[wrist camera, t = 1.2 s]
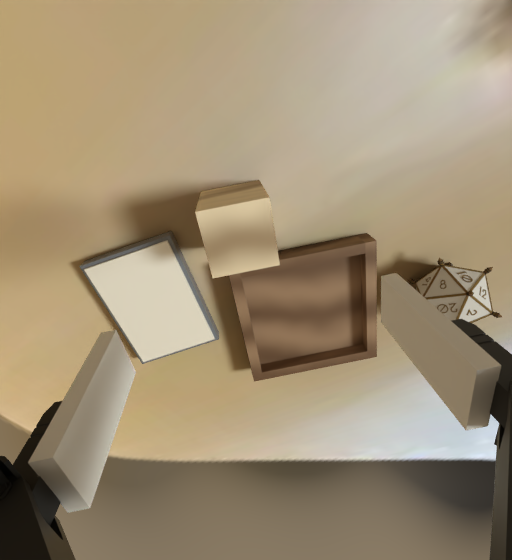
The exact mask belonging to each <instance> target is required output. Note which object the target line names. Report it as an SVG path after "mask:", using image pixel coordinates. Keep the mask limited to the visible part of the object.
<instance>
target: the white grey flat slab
mask: <svg viewBox="0 0 512 560" xmlns="http://www.w3.org/2000/svg"><path fill="white" fill-rule="evenodd" d="M79 267H80V268H81V270H82V271H83V273H84V274H85V276H86V277H87V279H88V281H89V282H90V284H91V285H92V287H93V288H94V290H95V291H96V293H97V295H98V296H99V298H100V299H101V301H102V302H103V304H104V305H105V307H106V308H107V310H108V312H109V313H110V315H111V316H112V318H113V319H114V321H115V322H116V324H117V325H118V327H119V329H120V330H121V332H122V333H123V335H124V336H125V338H126V339H127V341H128V342H129V344H130V346H131V347H132V349H133V350H134V352H135V353H136V355H137V356H138V358H139V359H140V361H141V363H142V364H144V363H147V362H150V361H153V360H156V359H159V358H162V357H165V356H168V355H171V354H175V353H178V352H181V351H184V350H187V349H190V348H193V347H196V346H199V345H202V344H205V343H208V342H212V341H215V340H218V339H219V331H218V329H217V327H216V325H215V323H214V321H213V319H212V316H211V314H210V312H209V310H208V308H207V306H206V304H205V302H204V299H203V297H202V295H201V293H200V291H199V289H198V287H197V284H196V282H195V280H194V278H193V276H192V274H191V272H190V270H189V267H188V265H187V263H186V261H185V259H184V257H183V255H182V253H181V250H180V248H179V246H178V244H177V242H176V240H175V238H174V235H173V233H172V231H170V232H167V233H164V234H161V235H158V236H155V237H153V238H150V239H147V240H144V241H141V242H138V243H135V244H132V245H130V246H127V247H124V248H121V249H118V250H115V251H112V252H109V253H107V254H104V255H101V256H98V257H95V258H92V259H89V260H86V261H84V262H83V263H82V264H81V265H80V266H79Z"/></svg>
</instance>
